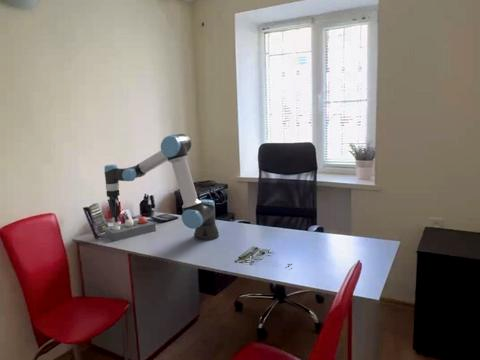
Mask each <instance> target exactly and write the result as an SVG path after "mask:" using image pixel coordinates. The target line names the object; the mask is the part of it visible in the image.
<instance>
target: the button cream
mask: <svg viewBox="0 0 480 360" xmlns="http://www.w3.org/2000/svg"><path fill="white" fill-rule="evenodd" d="M133 221H134V219H132V218H131V219H126V220H124V223H125V225H126V227H127V228H128V227H132V226H134V223H133Z"/></svg>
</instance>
